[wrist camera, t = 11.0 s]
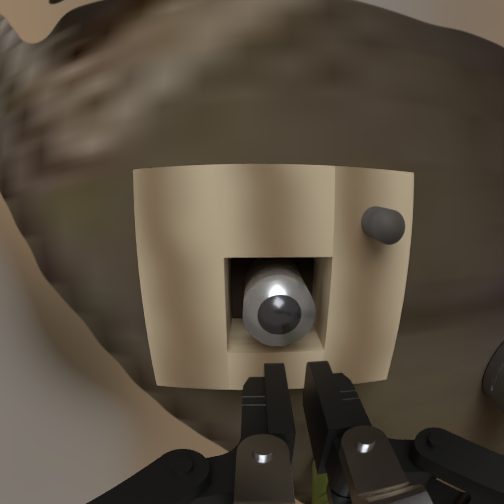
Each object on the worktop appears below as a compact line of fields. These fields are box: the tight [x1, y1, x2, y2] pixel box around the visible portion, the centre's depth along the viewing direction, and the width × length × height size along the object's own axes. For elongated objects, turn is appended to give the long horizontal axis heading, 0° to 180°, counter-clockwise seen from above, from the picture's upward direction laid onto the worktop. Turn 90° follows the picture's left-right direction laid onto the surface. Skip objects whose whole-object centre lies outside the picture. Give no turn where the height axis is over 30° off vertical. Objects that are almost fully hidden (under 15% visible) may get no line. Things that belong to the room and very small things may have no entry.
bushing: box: [243, 257, 316, 346], centre depth 19 cm, size 4×4×6 cm
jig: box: [133, 164, 414, 390], centre depth 18 cm, size 16×14×7 cm
